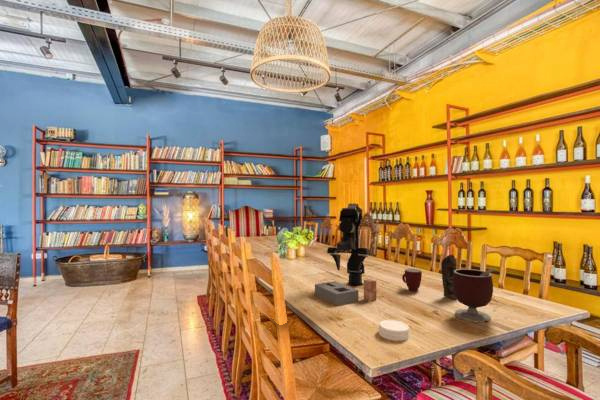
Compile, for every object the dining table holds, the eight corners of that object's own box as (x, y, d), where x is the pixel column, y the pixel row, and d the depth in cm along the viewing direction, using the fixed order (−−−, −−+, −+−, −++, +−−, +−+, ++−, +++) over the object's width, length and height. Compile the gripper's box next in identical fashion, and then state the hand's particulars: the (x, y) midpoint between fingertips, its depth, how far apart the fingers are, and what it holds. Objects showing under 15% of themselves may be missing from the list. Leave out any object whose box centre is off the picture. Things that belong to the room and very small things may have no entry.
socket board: (335, 291, 156) (335, 281, 156) (358, 301, 140) (358, 290, 140) (314, 294, 150) (314, 284, 150) (336, 305, 134) (336, 294, 134)
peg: (370, 297, 145) (370, 278, 145) (376, 300, 141) (376, 280, 141) (363, 299, 143) (363, 279, 143) (369, 301, 139) (369, 281, 139)
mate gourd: (445, 313, 124) (444, 263, 124) (466, 307, 131) (465, 260, 131) (484, 327, 110) (483, 271, 110) (505, 320, 117) (505, 267, 117)
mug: (397, 288, 159) (397, 269, 159) (406, 286, 164) (406, 267, 164) (416, 293, 151) (416, 273, 151) (424, 290, 156) (424, 270, 156)
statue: (454, 300, 140) (453, 256, 141) (440, 296, 147) (440, 253, 147) (463, 298, 144) (463, 254, 144) (450, 294, 150) (449, 252, 150)
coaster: (379, 327, 111) (379, 317, 111) (408, 330, 108) (408, 320, 108) (378, 339, 102) (377, 329, 102) (410, 343, 99) (410, 332, 99)
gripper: (322, 233, 138) (320, 269, 135) (362, 233, 128) (361, 272, 125) (332, 236, 147) (331, 269, 144) (371, 236, 137) (370, 272, 134)
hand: (348, 270), depth 137 cm, fingers open, 9 cm apart
